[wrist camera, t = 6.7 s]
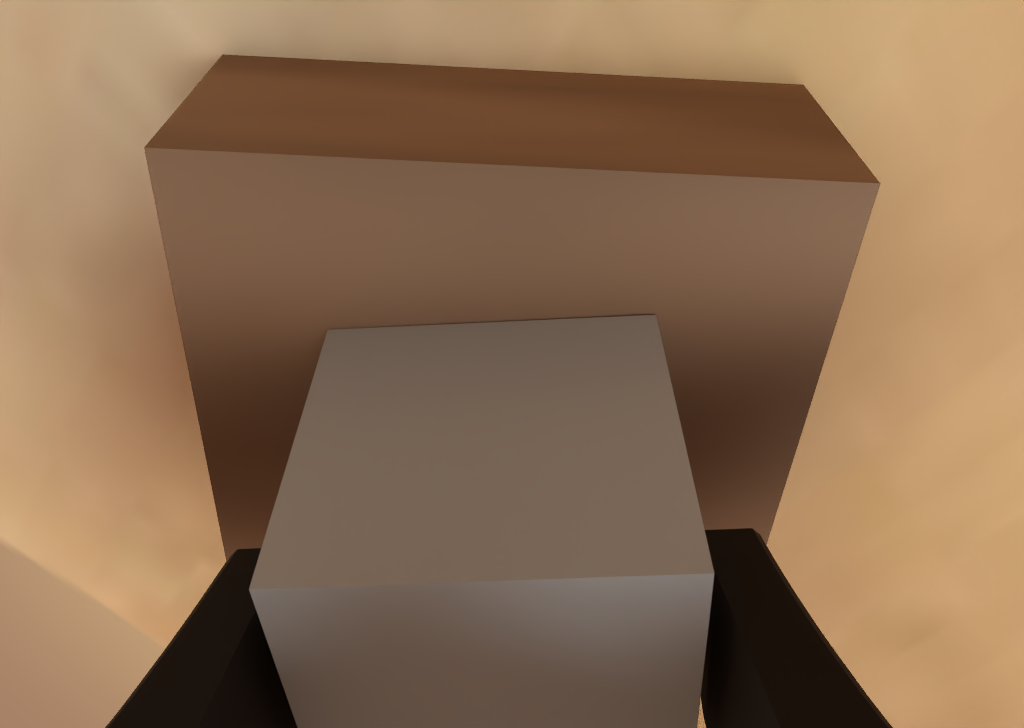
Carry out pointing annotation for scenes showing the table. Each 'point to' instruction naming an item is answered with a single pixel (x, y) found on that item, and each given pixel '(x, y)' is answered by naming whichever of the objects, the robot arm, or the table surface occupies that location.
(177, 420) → the table surface
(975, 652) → the table surface
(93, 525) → the table surface
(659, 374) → the grey cube
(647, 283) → the walnut block
